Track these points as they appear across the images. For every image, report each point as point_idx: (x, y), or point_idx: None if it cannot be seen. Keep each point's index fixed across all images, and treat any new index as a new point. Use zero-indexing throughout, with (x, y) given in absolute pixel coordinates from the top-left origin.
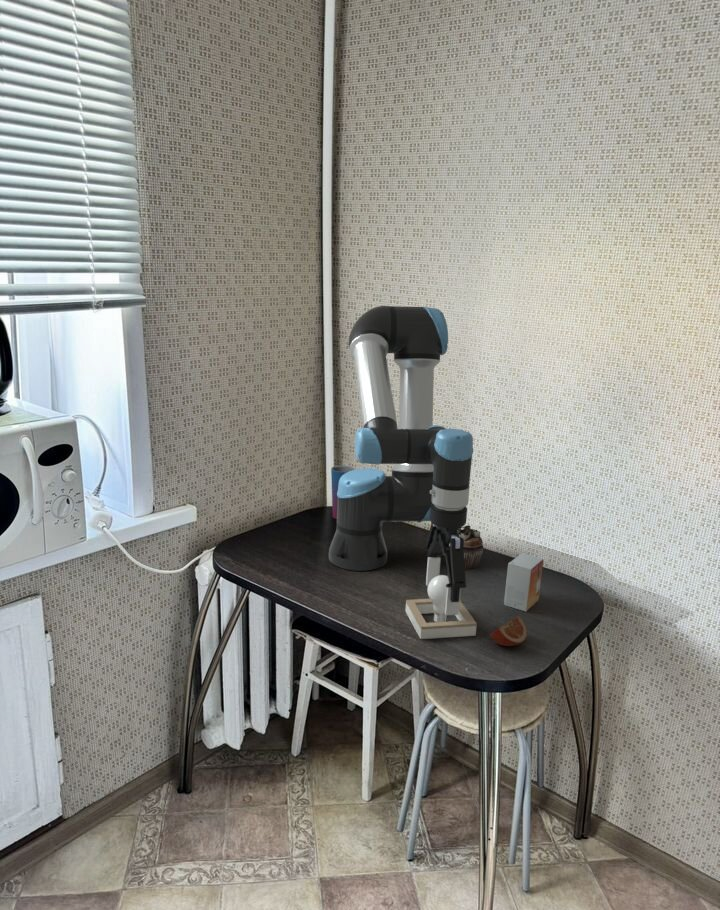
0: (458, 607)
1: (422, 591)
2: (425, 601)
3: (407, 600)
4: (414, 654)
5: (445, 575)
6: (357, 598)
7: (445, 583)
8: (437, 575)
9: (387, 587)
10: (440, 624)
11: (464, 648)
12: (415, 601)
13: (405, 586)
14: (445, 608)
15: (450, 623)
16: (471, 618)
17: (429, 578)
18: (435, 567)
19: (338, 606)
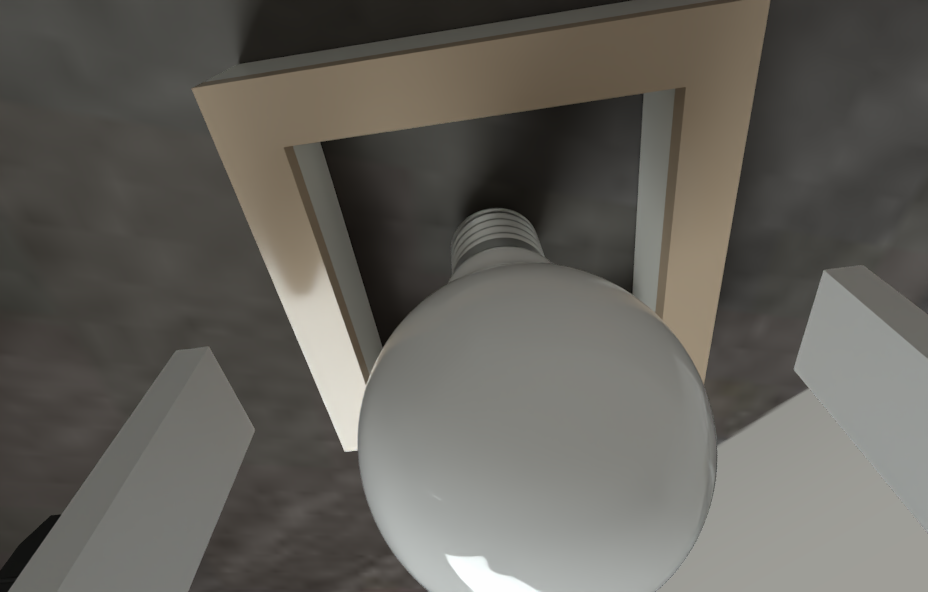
0: (920, 318)
1: (37, 282)
2: (348, 359)
3: (351, 446)
4: (800, 392)
5: (485, 574)
6: (263, 540)
7: (680, 555)
8: (167, 447)
9: (84, 444)
10: (697, 311)
11: (856, 127)
12: (358, 411)
13: (16, 367)
14: (834, 408)
15: (701, 244)
16: (660, 34)
17: (221, 478)
18: (125, 572)
19: (352, 584)
